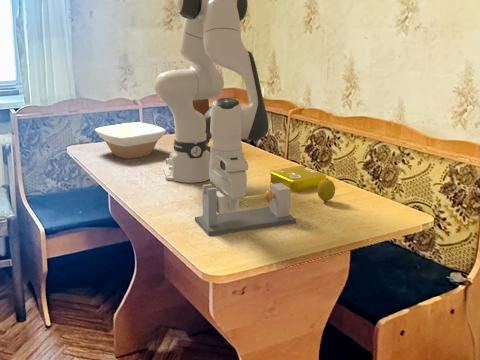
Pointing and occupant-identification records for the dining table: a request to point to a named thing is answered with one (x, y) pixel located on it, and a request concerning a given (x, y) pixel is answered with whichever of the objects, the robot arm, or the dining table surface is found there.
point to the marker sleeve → (225, 203)
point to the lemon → (326, 189)
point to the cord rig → (246, 212)
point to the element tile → (297, 178)
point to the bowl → (131, 138)
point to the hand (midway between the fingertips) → (226, 204)
